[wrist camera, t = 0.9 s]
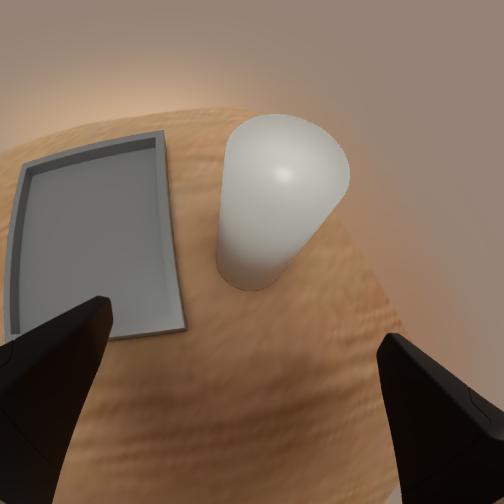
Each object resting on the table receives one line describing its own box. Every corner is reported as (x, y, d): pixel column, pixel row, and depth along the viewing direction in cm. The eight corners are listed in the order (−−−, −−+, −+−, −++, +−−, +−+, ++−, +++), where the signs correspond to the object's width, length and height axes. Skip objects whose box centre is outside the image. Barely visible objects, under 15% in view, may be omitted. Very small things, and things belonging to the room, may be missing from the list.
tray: (187, 330, 21) (184, 327, 19) (21, 346, 18) (5, 344, 15) (165, 146, 27) (163, 130, 24) (32, 177, 23) (22, 164, 21)
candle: (289, 284, 24) (367, 207, 11) (222, 296, 22) (239, 222, 10) (274, 223, 25) (325, 114, 13) (211, 231, 24) (216, 116, 12)
